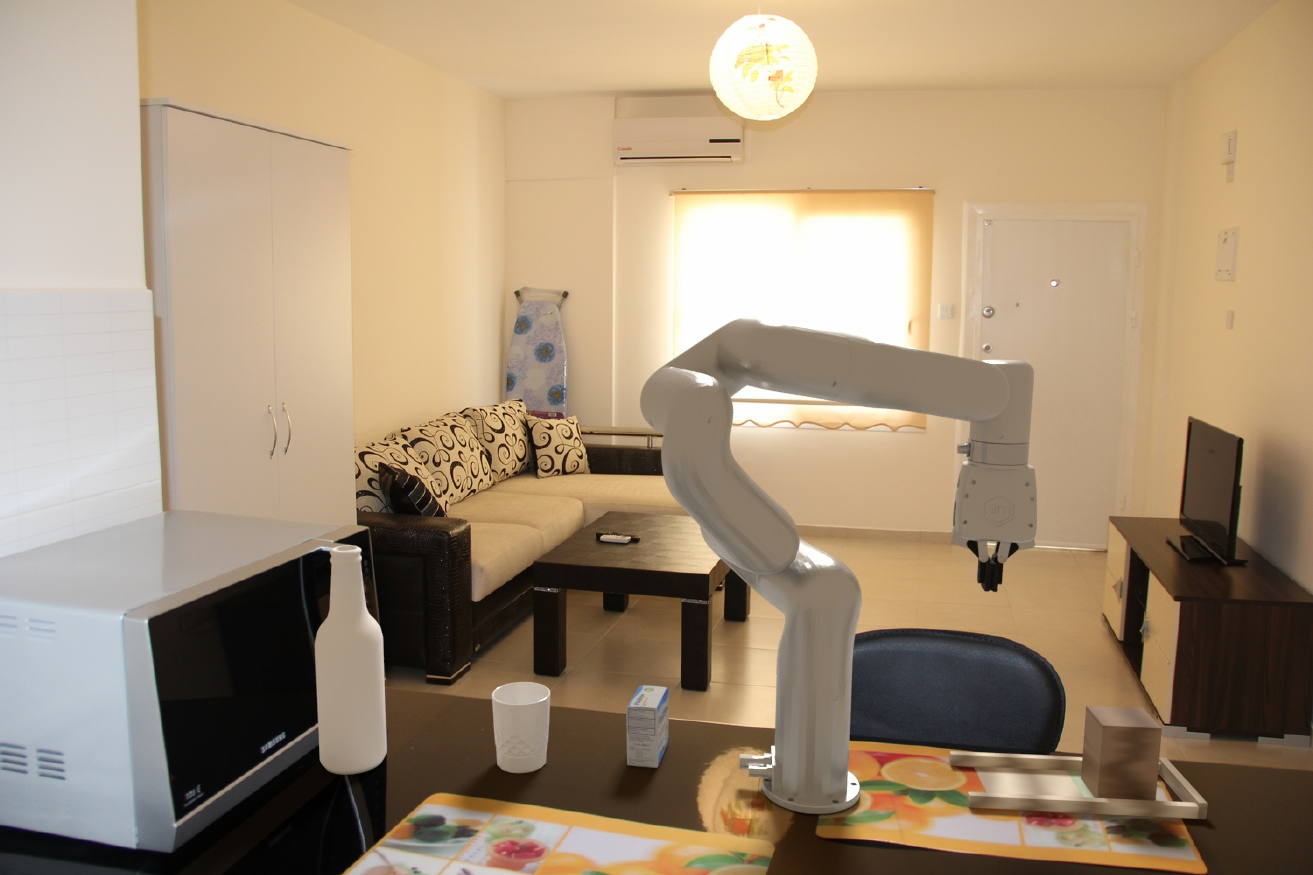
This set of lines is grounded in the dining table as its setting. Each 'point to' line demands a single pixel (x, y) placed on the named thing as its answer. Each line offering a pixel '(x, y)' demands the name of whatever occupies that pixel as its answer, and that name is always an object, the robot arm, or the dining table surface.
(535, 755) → the white cup
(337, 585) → the alcohol
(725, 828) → the dining table surface
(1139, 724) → the walnut block
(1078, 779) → the channel board
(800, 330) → the robot arm
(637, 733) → the medicine box
